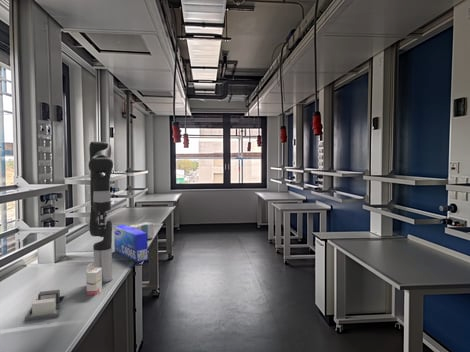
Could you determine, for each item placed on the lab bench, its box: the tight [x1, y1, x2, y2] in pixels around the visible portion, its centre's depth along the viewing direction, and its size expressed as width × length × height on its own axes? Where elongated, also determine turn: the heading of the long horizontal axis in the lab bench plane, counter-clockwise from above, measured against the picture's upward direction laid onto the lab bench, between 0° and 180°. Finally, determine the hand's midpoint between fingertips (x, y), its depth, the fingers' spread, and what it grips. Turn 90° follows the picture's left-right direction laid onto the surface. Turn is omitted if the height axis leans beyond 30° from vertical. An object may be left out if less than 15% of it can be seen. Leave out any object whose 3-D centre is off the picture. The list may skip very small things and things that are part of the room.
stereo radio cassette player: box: [128, 214, 155, 240], centre depth 289 cm, size 21×8×20 cm, turn 148°
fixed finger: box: [37, 289, 61, 304], centre depth 157 cm, size 4×8×6 cm, turn 108°
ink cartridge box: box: [85, 261, 103, 296], centre depth 173 cm, size 9×5×15 cm, turn 4°
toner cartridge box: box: [113, 224, 149, 263], centre depth 242 cm, size 39×8×18 cm, turn 39°
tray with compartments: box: [24, 295, 67, 322], centre depth 152 cm, size 20×12×3 cm, turn 18°
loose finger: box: [31, 298, 56, 316], centre depth 147 cm, size 4×8×6 cm, turn 107°
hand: (103, 235), depth 165 cm, fingers open, 8 cm apart
